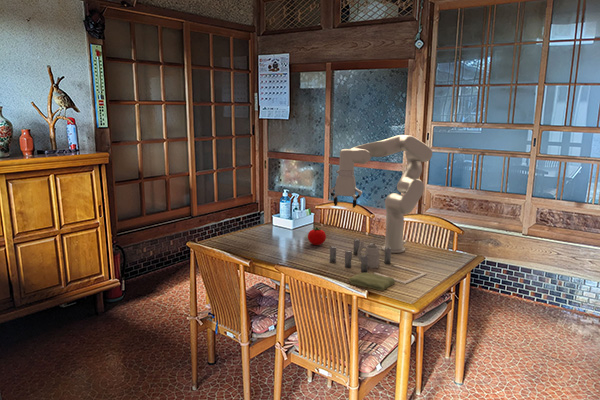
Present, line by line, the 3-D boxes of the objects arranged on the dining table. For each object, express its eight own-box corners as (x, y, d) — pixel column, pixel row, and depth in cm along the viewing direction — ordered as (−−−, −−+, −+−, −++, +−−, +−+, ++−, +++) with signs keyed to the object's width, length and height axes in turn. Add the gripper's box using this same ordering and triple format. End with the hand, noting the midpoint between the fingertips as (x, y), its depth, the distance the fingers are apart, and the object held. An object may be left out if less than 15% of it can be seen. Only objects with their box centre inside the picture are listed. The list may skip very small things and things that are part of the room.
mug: (375, 269, 224) (376, 245, 222) (353, 264, 231) (354, 241, 228) (382, 265, 231) (383, 242, 228) (360, 260, 237) (361, 238, 235)
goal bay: (395, 265, 230) (395, 264, 230) (426, 274, 217) (426, 273, 217) (373, 274, 217) (373, 273, 217) (405, 284, 205) (405, 283, 205)
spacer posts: (355, 252, 250) (356, 238, 248) (391, 263, 234) (392, 247, 232) (328, 262, 235) (328, 246, 233) (364, 273, 218) (365, 257, 217)
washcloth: (361, 275, 217) (362, 269, 216) (396, 284, 206) (396, 277, 206) (346, 283, 207) (347, 276, 206) (382, 293, 196) (382, 286, 195)
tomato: (322, 248, 258) (323, 230, 256) (305, 246, 262) (305, 229, 260) (327, 243, 268) (328, 226, 266) (310, 241, 271) (310, 224, 269)
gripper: (327, 173, 234) (326, 206, 237) (361, 175, 228) (359, 209, 231) (332, 171, 241) (330, 203, 244) (364, 173, 235) (362, 206, 238)
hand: (344, 206), depth 238 cm, fingers open, 9 cm apart
